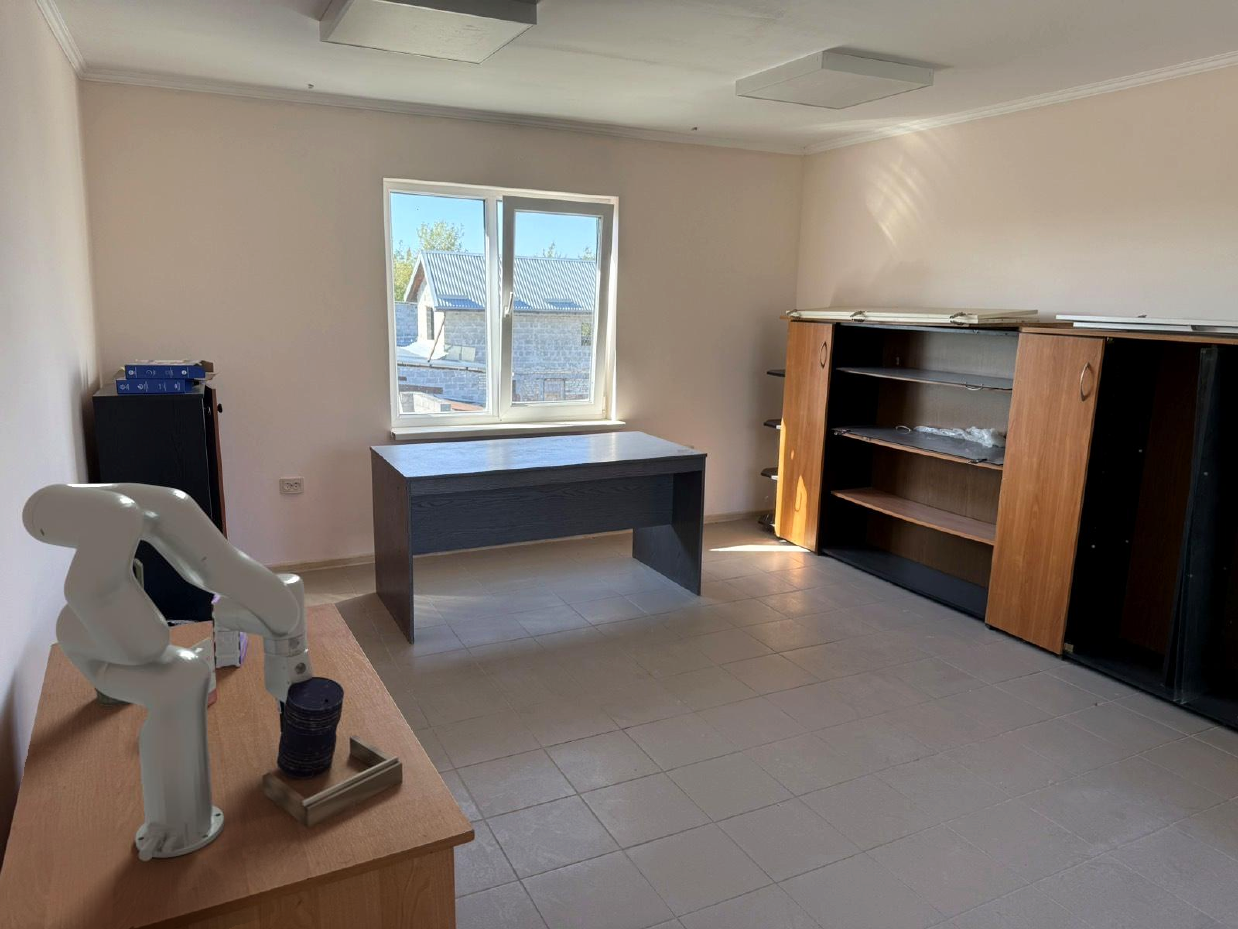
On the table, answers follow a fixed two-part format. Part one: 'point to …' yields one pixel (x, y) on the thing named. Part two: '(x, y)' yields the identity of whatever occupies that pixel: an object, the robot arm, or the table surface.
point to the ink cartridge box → (209, 656)
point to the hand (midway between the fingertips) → (290, 731)
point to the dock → (338, 786)
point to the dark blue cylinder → (310, 727)
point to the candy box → (227, 643)
